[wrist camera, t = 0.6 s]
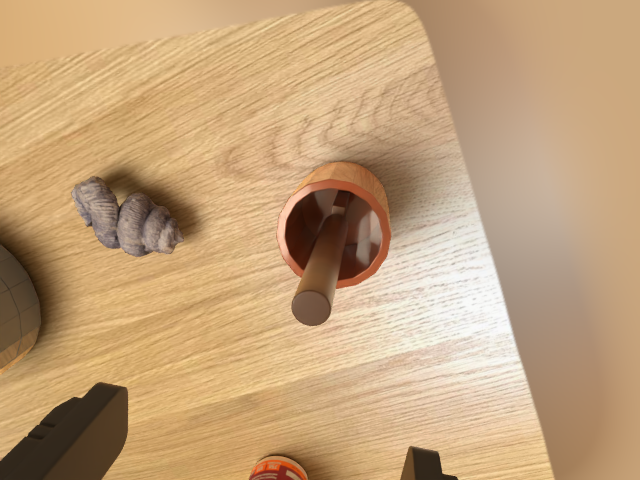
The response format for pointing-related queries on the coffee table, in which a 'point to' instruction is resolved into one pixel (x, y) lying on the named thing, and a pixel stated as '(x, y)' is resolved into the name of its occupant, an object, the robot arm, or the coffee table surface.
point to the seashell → (126, 220)
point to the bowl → (16, 311)
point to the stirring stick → (323, 267)
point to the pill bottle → (277, 469)
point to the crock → (362, 216)
